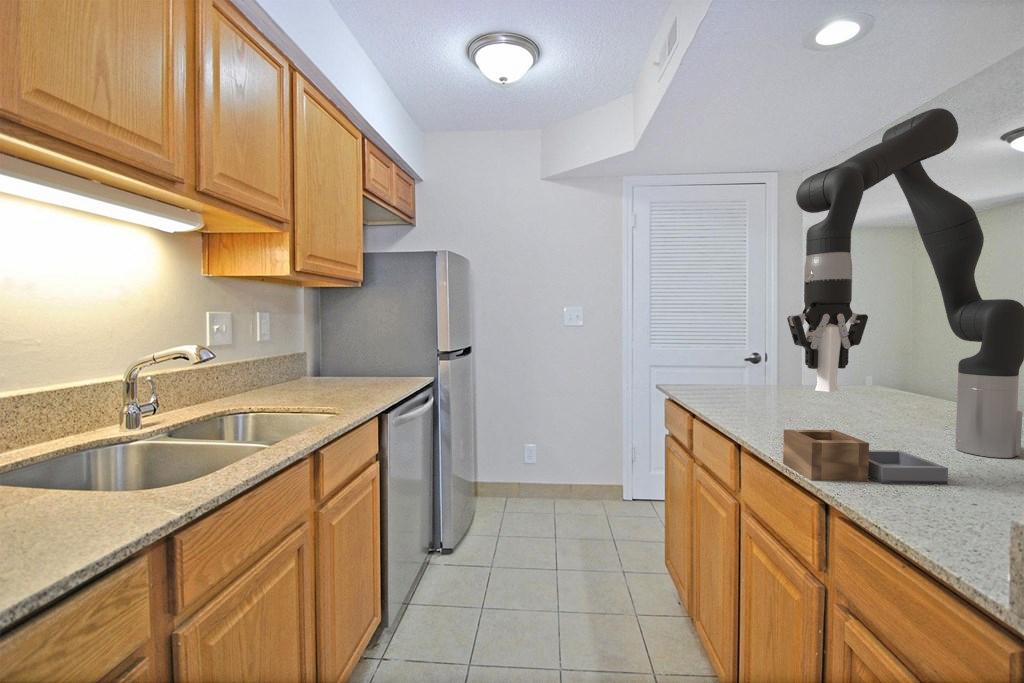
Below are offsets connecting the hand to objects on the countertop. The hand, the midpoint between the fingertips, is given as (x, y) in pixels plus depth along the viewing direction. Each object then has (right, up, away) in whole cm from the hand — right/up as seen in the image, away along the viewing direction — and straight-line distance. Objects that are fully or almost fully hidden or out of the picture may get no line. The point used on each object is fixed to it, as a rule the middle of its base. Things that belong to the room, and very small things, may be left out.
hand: (826, 367), depth 89 cm
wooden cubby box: (0, -20, +1) cm, 20 cm away
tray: (+12, -20, -1) cm, 23 cm away
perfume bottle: (0, -5, 0) cm, 5 cm away
